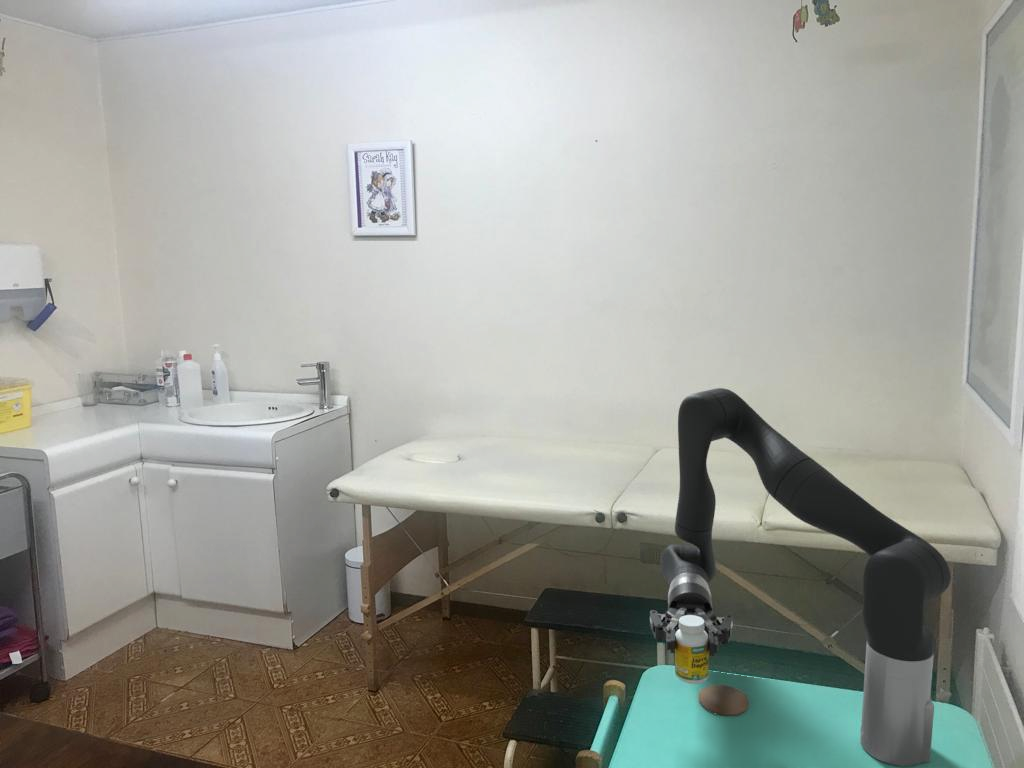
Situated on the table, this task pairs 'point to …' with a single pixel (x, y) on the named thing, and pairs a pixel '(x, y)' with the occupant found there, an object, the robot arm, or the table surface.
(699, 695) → the walnut coaster
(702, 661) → the supplement bottle
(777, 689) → the table surface
